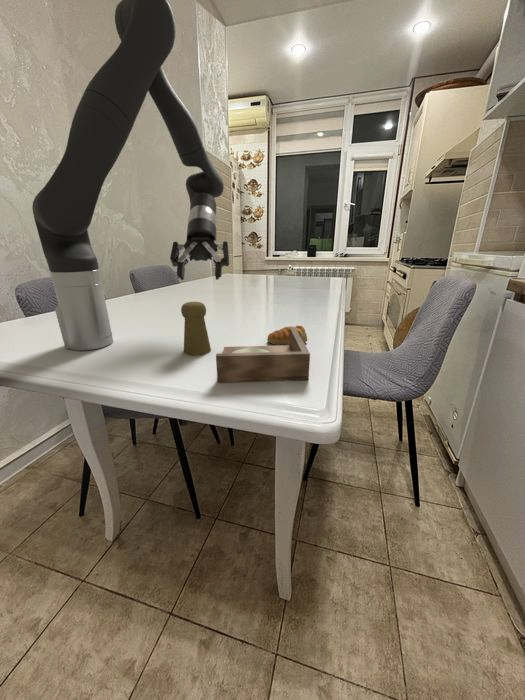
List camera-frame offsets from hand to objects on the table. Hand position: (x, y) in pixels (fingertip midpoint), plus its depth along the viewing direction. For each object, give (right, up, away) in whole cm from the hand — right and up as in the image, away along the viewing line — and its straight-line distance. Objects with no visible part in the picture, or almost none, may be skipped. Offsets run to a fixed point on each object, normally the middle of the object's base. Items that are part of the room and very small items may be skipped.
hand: (199, 277), depth 70 cm
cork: (+1, -18, -5) cm, 19 cm away
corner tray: (+15, -20, -12) cm, 28 cm away
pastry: (+22, -16, +1) cm, 27 cm away
